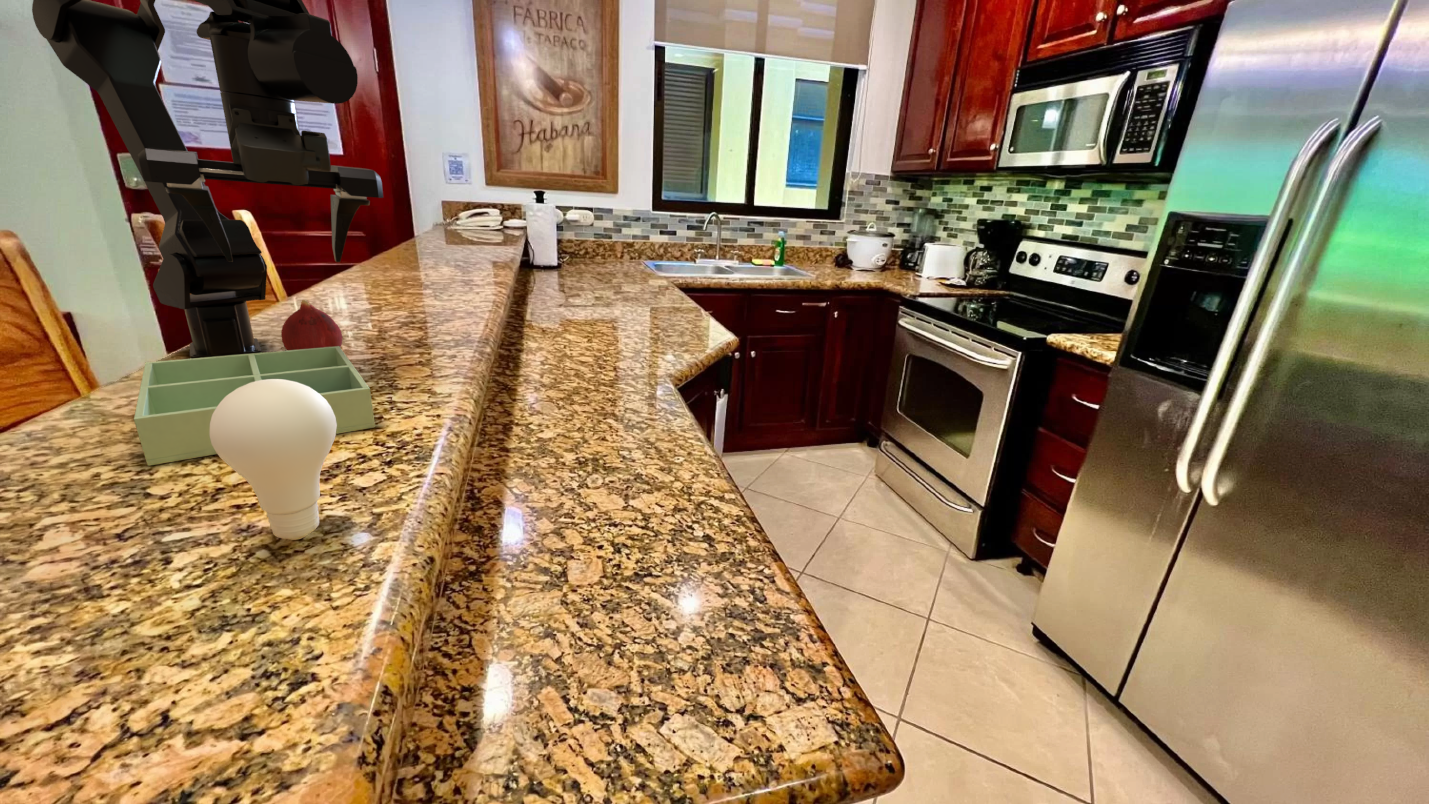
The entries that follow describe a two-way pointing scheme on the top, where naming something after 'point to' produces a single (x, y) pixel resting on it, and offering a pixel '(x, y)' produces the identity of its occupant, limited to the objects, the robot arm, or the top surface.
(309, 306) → the onion
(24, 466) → the top surface
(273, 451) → the lightbulb
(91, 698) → the top surface
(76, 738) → the top surface
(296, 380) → the divided tray
